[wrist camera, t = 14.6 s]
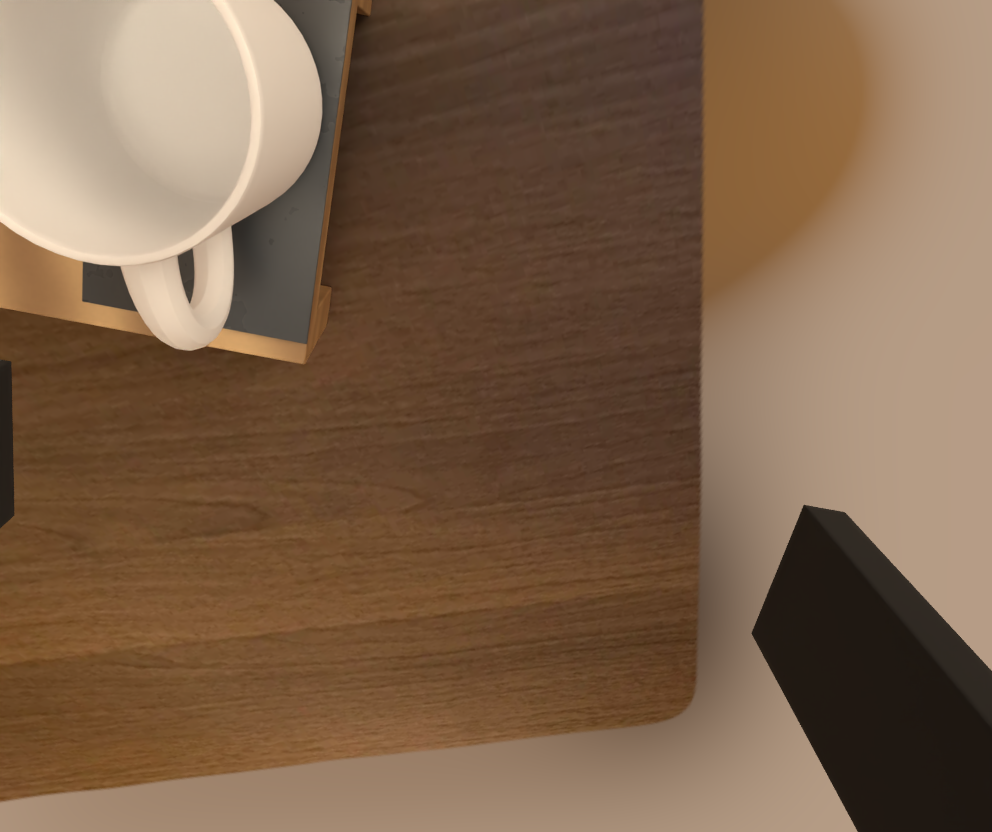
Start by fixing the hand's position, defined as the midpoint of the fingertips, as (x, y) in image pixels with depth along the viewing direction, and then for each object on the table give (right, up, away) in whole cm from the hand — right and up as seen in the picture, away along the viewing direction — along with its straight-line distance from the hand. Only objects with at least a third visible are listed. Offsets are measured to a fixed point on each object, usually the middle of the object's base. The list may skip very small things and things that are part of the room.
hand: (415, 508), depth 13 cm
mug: (-9, +12, +16) cm, 22 cm away
